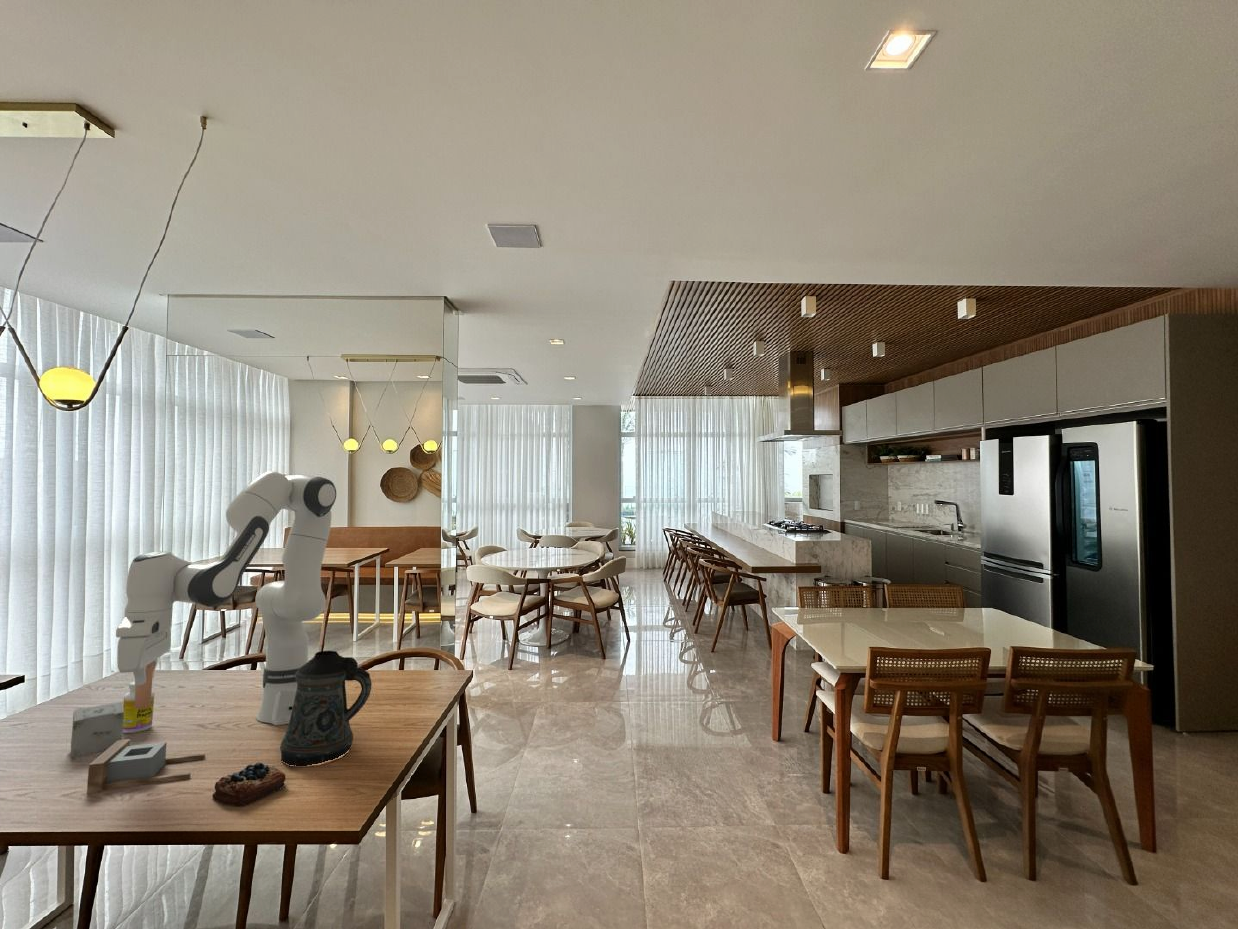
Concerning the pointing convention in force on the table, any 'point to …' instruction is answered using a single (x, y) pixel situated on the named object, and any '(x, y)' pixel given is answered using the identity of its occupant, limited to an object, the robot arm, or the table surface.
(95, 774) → the rail frame
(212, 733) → the table surface
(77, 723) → the incense holder
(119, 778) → the block
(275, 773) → the pastry
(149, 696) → the dowel
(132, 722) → the supplement bottle
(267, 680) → the robot arm
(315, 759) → the beer stein
